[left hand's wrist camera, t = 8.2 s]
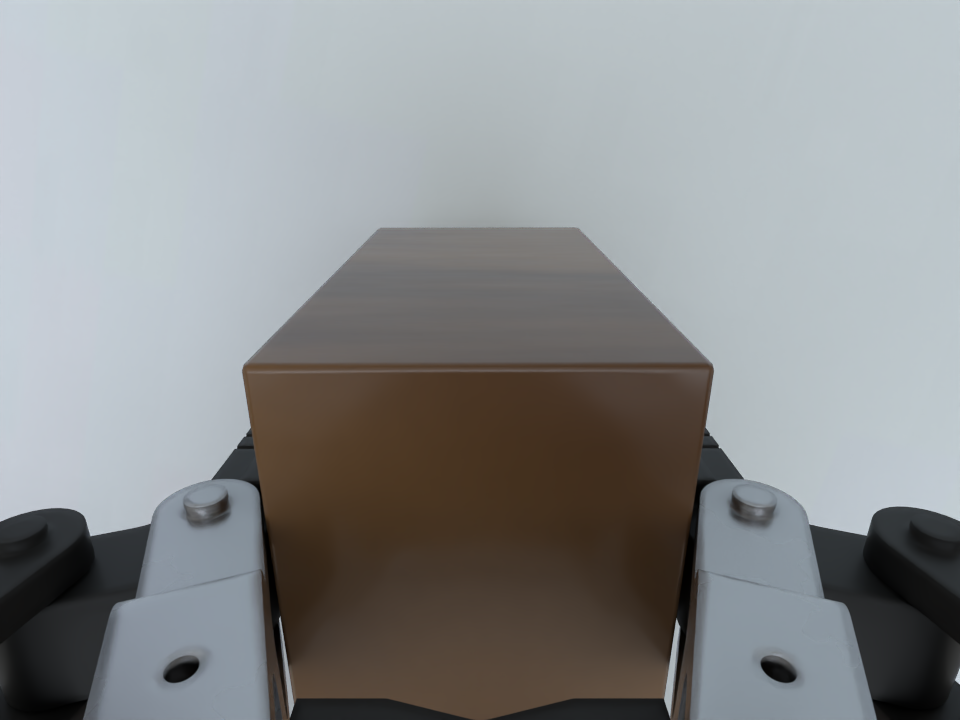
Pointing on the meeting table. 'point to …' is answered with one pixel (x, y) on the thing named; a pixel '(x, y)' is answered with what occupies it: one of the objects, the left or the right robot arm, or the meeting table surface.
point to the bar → (478, 473)
